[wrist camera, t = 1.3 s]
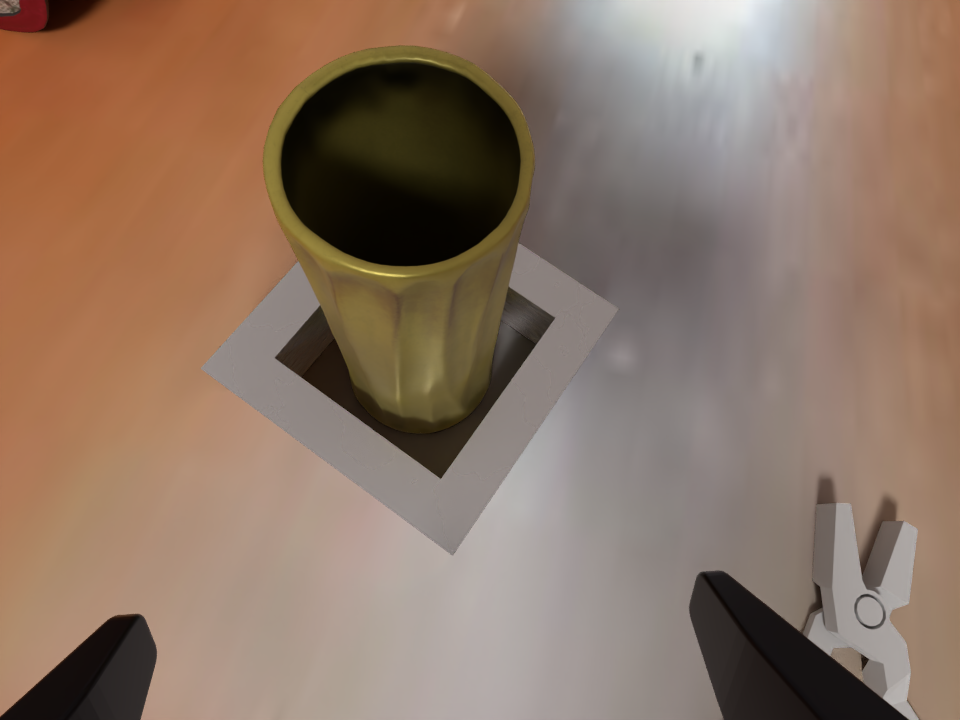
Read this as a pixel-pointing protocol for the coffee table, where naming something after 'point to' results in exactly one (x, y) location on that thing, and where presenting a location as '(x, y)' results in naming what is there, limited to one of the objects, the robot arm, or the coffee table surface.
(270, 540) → the coffee table surface
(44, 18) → the handbag
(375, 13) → the coffee table surface
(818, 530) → the pliers
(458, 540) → the socket block
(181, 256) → the coffee table surface
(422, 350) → the vase
